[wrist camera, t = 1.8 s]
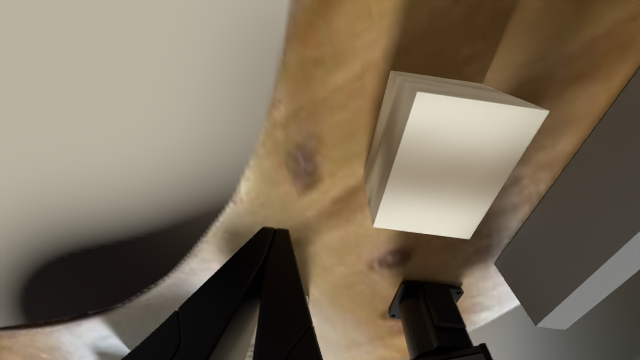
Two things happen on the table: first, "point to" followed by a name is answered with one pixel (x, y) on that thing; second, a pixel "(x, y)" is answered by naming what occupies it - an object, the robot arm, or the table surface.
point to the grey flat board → (583, 224)
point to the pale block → (443, 153)
